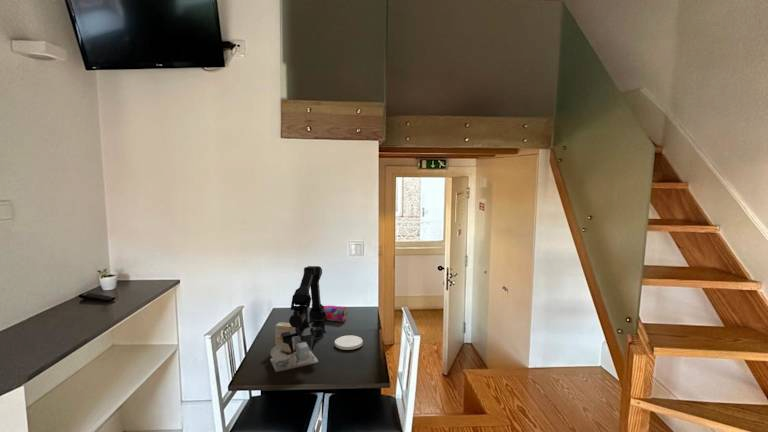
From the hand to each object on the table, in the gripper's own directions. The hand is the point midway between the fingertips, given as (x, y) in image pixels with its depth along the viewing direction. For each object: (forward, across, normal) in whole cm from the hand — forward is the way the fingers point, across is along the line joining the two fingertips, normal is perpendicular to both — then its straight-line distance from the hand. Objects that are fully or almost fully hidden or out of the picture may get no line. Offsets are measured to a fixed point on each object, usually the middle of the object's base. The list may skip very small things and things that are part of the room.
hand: (302, 352), depth 176 cm
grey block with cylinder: (+3, 0, 0) cm, 3 cm away
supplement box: (+4, -5, +14) cm, 15 cm away
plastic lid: (+4, +25, +5) cm, 26 cm away
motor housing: (+4, -4, 0) cm, 5 cm away
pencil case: (+4, +28, +44) cm, 53 cm away
